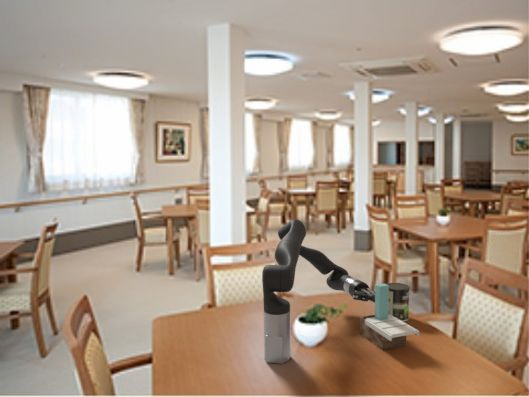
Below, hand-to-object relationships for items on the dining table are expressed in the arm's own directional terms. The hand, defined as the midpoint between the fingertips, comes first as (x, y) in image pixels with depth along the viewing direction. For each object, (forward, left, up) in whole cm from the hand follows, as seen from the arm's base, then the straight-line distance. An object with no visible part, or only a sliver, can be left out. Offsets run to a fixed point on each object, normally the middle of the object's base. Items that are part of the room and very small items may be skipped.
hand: (379, 301), depth 177 cm
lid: (-6, -4, -8) cm, 12 cm away
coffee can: (+23, -7, -15) cm, 28 cm away
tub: (-2, -1, -15) cm, 15 cm away
